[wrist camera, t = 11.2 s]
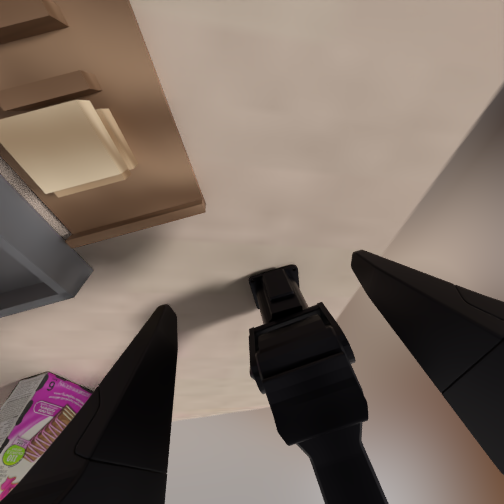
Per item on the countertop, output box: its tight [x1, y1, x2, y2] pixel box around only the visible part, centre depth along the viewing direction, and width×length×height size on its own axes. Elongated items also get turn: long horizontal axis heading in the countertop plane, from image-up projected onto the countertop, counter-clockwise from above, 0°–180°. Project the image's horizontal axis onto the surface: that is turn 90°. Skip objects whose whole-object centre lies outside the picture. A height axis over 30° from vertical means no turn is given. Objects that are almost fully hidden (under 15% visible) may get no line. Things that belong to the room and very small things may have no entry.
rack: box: [0, 0, 206, 249], centre depth 13 cm, size 16×12×2 cm
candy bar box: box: [0, 372, 93, 501], centre depth 26 cm, size 11×5×16 cm, turn 15°
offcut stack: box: [0, 100, 139, 198], centre depth 13 cm, size 4×5×4 cm
